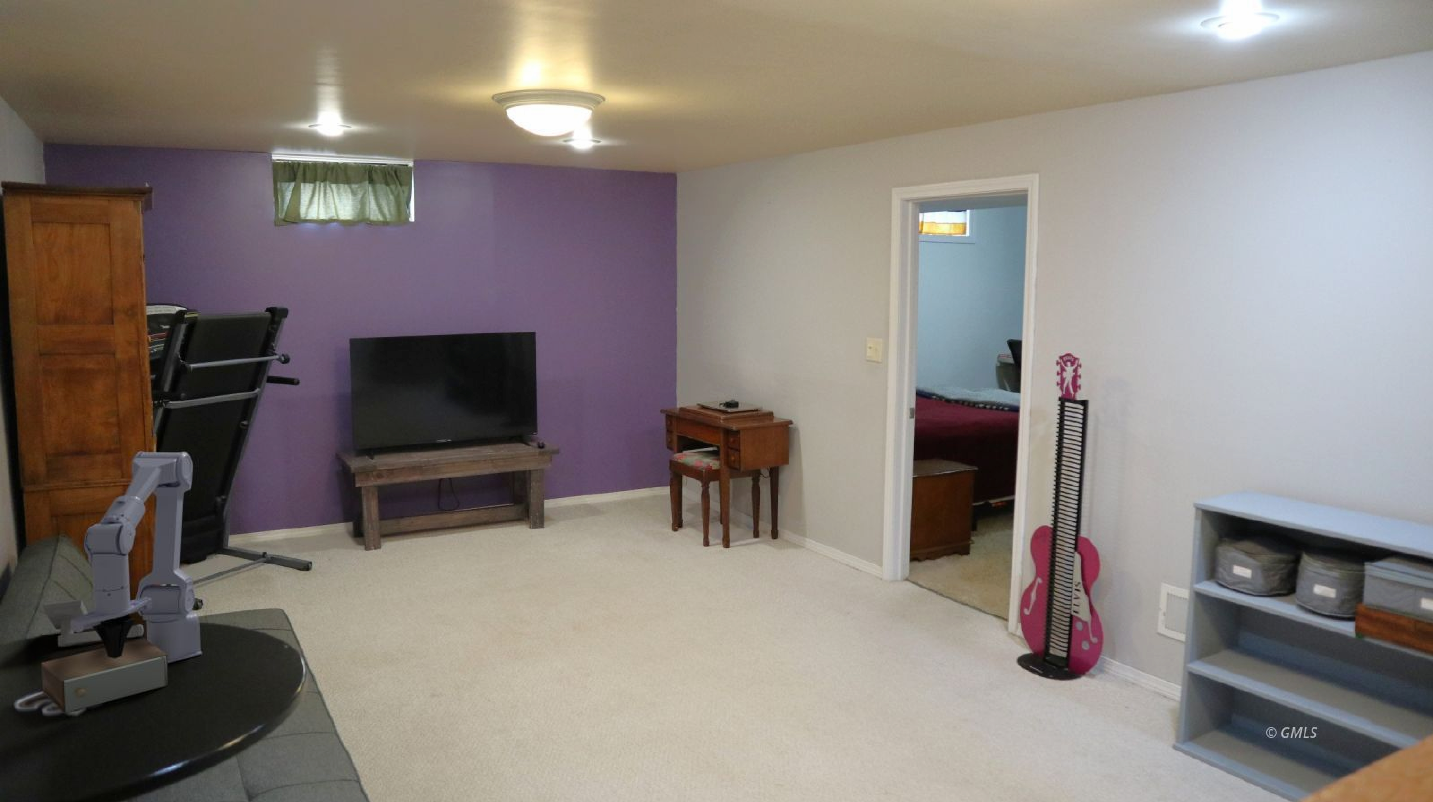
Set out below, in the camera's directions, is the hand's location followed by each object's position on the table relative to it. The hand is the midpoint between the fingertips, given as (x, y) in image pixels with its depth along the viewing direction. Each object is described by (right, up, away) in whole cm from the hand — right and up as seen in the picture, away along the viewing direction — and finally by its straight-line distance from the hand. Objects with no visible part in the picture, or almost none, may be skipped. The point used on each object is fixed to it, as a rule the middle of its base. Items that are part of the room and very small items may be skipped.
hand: (114, 656), depth 181 cm
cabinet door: (-1, -9, +3) cm, 9 cm away
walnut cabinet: (-6, -8, +8) cm, 13 cm away
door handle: (-26, -5, +34) cm, 43 cm away
